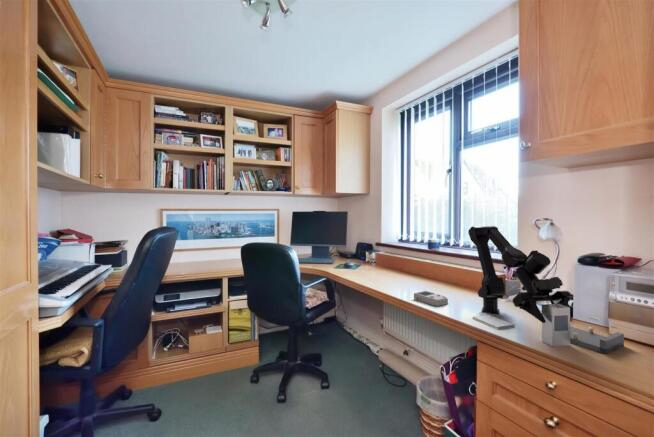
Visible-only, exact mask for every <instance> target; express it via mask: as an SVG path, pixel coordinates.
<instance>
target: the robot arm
mask: <svg viewBox="0 0 654 437" xmlns="http://www.w3.org/2000/svg"><path fill="white" fill-rule="evenodd" d="M467 232H468V235H469V236H468V237H469V238H470V240H471V242H472V243H473V244H474V245H475V247H476V250H477V254H478V259H479V262H480V263H479V264H480V268H481V272H482V274H483V277H482V279H481V287H480V288H479V289H478V291H477V296H478V297H480V298H482V299H483V300H482V303H483V304H482V308H481V312H484V313H488V314H496V315H499V313H500V309H499V299H503V298H504V294H505V291H506V288H505V287H506V285H505V283H504V278H503V277H501V276H500V277H499V276H498V275H497V273H496V269H495V264H494V263H493V259H492V258H493V257H492V255H491V251H490V247H489V242H490V241H491V243H492V244H493V245H494V246H495V248H496V249H498V251H499V252H500V254H501V260H502V261H503V264H504V265H505V266H506V267H507V268H508V269H509V268H510V269H511V268H512V269H515V268H516V269H515V270H512V275H511V278H513V279H515V278H517V279H518V280H519V283H521V285H522V287H521V290H522V291H521V292H518V293H517V294H516V296H514V297H513V299H512V303H513V305H514V307H515V308H519V309H520V310H523V311H525V312H527V313H528V314H530V315H531V316H533V317H534V318H535V319H537V320H538V321H540V322H541V324H542V323H545V322H546V321H545V318H544V317H543V315H542V311H541V310H540V309H539V307H538V305H537V302H550V303H551V304H561V305H564V306H567V307H569V302H570V301H571V300H572V298H573V297H574V296H573V295H572V293H571V292H570V291H568V290H556V291H555V292H554V291H553V290H555V289H561V287H562V286H564V283H563V281H562V279H561V278H560V277H559V276H553V277H550V278H545V279H544V278H541V279H540V278H539V277H538V276H537V275H540V274H542V272H544V270H545V269H547V267H548V266H549V265H550V264H551V259H550V257H548V256H547V255H545V254H544V253H541V252H539V251H538V250H531V251H530V252H529V254H528V255H527V254H525V252H523V251H522V250H520V249H518V248H516V247H514V246H513V245H512V244H511V243H510V242H509V241H508V240H507V239H506V237H505V236H504V235H503V234H502V233H501V232H500V231H499V227H497V226H496V225H485V226H483V225H482V226H481V225H480V226H479V225H478V226H471V227H470V228H469V229H468V231H467ZM523 291H525V292H523ZM553 292H554V293H553ZM552 293H553V294H552ZM570 322H572V317H571V315H570Z"/></svg>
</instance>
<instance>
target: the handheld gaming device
mask: <svg viewBox="0 0 654 437" xmlns="http://www.w3.org/2000/svg"><path fill="white" fill-rule="evenodd" d="M413 299H414V300H416V301H419V302H422V303H425V304H428V305H432V306H435V307H441V306H444V305H447V304H449V298H448V297H447V296H444V295H441V294H439V293H434V292H431V291H427V290H422V291H417V292H414V293H413Z"/></svg>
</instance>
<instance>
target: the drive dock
mask: <svg viewBox="0 0 654 437" xmlns="http://www.w3.org/2000/svg"><path fill="white" fill-rule="evenodd" d="M570 344H574V345H577V346H580V347H582V348H586V349H590V350H592V351H596V352H598V353H602V354H605V355H608V354H610V353H612V352H614V351H616V350H618V349H619V350H620V349H621V348H622V347H625V334H624V333H623V332H618V331H617V332H615V333H612V334H609V335H607V336H605V335H603V334H602V335H601V334H598V333H595V331H594V327H590V326H589V327H588V330H585V329H581V328H578V327H574V326H571V325H570Z"/></svg>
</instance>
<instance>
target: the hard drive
mask: <svg viewBox="0 0 654 437" xmlns="http://www.w3.org/2000/svg"><path fill="white" fill-rule="evenodd" d="M472 319H473V320H475V321H477V322H479V323H481V324H484V325H486V326H488V327H491V328H492V329H494V330H495V329H496V330H497V329H498V331H499V329H500V330H506V329H512V328H513V329H514V328H515V327H516V326H515V324H513V323H510V322H508V321H505V320H503V319H501V318H497V317H495V316H493V315H491V314H481V315H480V314H479V315H474V316H472Z"/></svg>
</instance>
